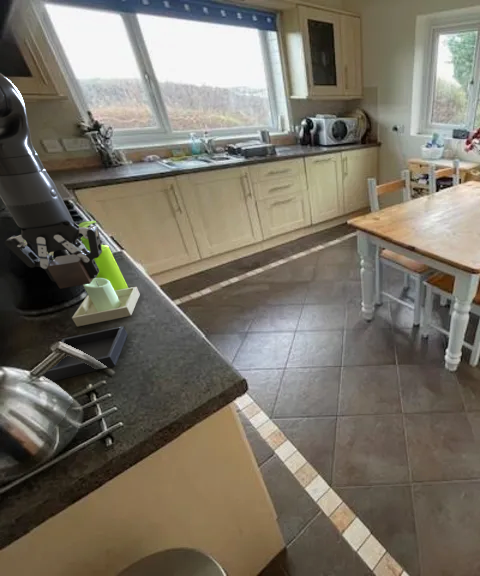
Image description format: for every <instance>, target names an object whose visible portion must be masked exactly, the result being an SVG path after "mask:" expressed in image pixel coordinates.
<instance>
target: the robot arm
mask: <svg viewBox="0 0 480 576" xmlns="http://www.w3.org/2000/svg"><path fill="white" fill-rule="evenodd" d="M25 104H26V103H25V102H24V99H23V97H22V94H21V93H20V91H19V90H18V88H17V87H16V85H14V83H12V81H11V80H10V79H8V78H7V76H5V75H4V74H2V72H0V200H1V201H2V202H3V204H4V206H5V207H6V209H7V211H8V212H9V214H10V216H11V217H12V219H13V220H14V222H15V223H16V226H17V227H18V228H19V229H20V231H21V233H20V234H19V235H12V236H11V237H8V238H7V239H6V240H4V245H5V246H6V247H7V248H8V249H9V250H10V251H11V252H12V253H14V254H15V255H16V256H17V258H18V259H20V260H21V262H22V263H24V265H26V266H27V267H28V268H32V269H34V268H35V267H36V268H42V269H43V270H44V271H45V273H46V274H47V276H48V278H49V279H50V281H51V282H53V283H56V281H55V280H54V278H53V276H52V275H51V273H50V271H49V270H48V268H47V266H48V265H49V264H50V263H51V262H52V261H53V260H54V252H57V251H68V252H70V253H71V255H72V254H74V255H76V256H77V257H79V258H80V259H81V260H82V261H83V262H84V263H83V264H84V266H85V268H86V270H87V272H88V274H89V275H90V277H91V278H96V277H97V275H98V273H99V268H98V266H97V264H96V262H95V260H94V258H98V257H99V255H100V254H101V253H102V248H101V245H102V244H101V242H102V241H101V237H100V231H99V227H97V226H96V225H92V226H90V227H88V228H86V227H79V226H78V225H79V224H77V223H76V222H75V221H74V219H73V217H72V215H71V213H70V211H69V209H68V207H67V206H66V204H65V202H64V199H63V198H62V196H61V194H60V192H59V189H58V188H57V185H56V184H55V182H54V180H53V179H52V178H51V177H50V174H49V173H48V172H47V170H46V169H45V167H44V164H43V162H42V161H41V159H40V157H39V154H38V153H37V151H36V150H35V148H34V145H33V142H32V135H31V134H32V133H31V129H30V124H29V118H28V114H27V108H26V106H25ZM80 234H81V235H82V236H83V235H84V237H85V238H86V239H88V241H89V246H90V251H89V250H88V249H86V248H85V245H84V244H83V243H82V241H81V240H80V239H79V236H80ZM28 243H30V244H32V245H33V246H35V247H37V254H36V253H35V252H34V251H33V250H32V249H31V248H30V247H29V246H28Z"/></svg>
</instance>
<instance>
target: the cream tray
mask: <svg viewBox="0 0 480 576" xmlns="http://www.w3.org/2000/svg"><path fill="white" fill-rule="evenodd" d="M115 293H116V295H117V297H118V299H119V301H120V303H121V305H120V306H119V307H118V308H115V309H110V310H105V311H100V312H98V311H97V309H96V307H95V306H94V304H93V302H92V300H91V299H90V297H89V295H88V294H87V295H86V296H85V298H84V300H83V301H81V304H80V305H79V306H78V308H77V310H76V311H75V312H74V314H73V316H72V317H71V319H72V321H73V323H74V324H75V326H76V327H82V326H83V327H84V326H86V325H92V324H98V323H102V322H107V321H111V320H117V319H121V318H126V317H131V316H132V315H133V312H134V310H135V307H136V306H137V303H138V300H139V298H140V295H141V293H140V291H139V289H138V286H132V287H128V288H126V289H120V290H115Z"/></svg>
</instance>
